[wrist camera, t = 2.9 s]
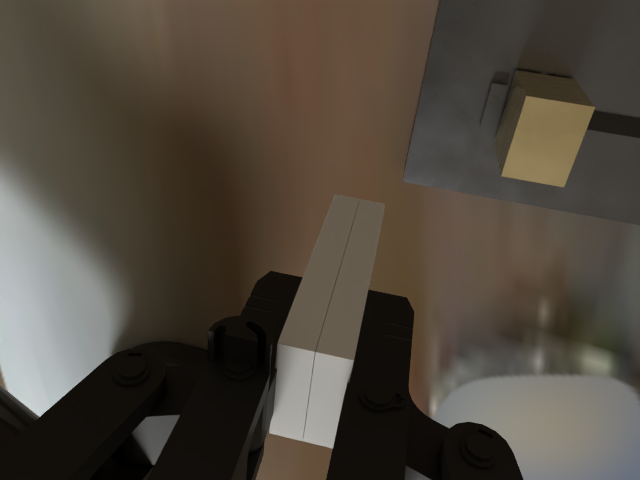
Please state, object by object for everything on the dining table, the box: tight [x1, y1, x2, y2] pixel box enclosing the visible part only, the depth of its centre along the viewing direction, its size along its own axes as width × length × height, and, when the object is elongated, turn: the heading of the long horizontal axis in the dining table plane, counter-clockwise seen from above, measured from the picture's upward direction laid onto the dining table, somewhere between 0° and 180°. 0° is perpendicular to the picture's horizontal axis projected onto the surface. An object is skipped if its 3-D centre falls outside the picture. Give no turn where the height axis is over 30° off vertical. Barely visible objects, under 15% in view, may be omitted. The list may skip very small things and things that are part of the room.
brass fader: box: [494, 70, 595, 187], centre depth 27 cm, size 3×4×4 cm
